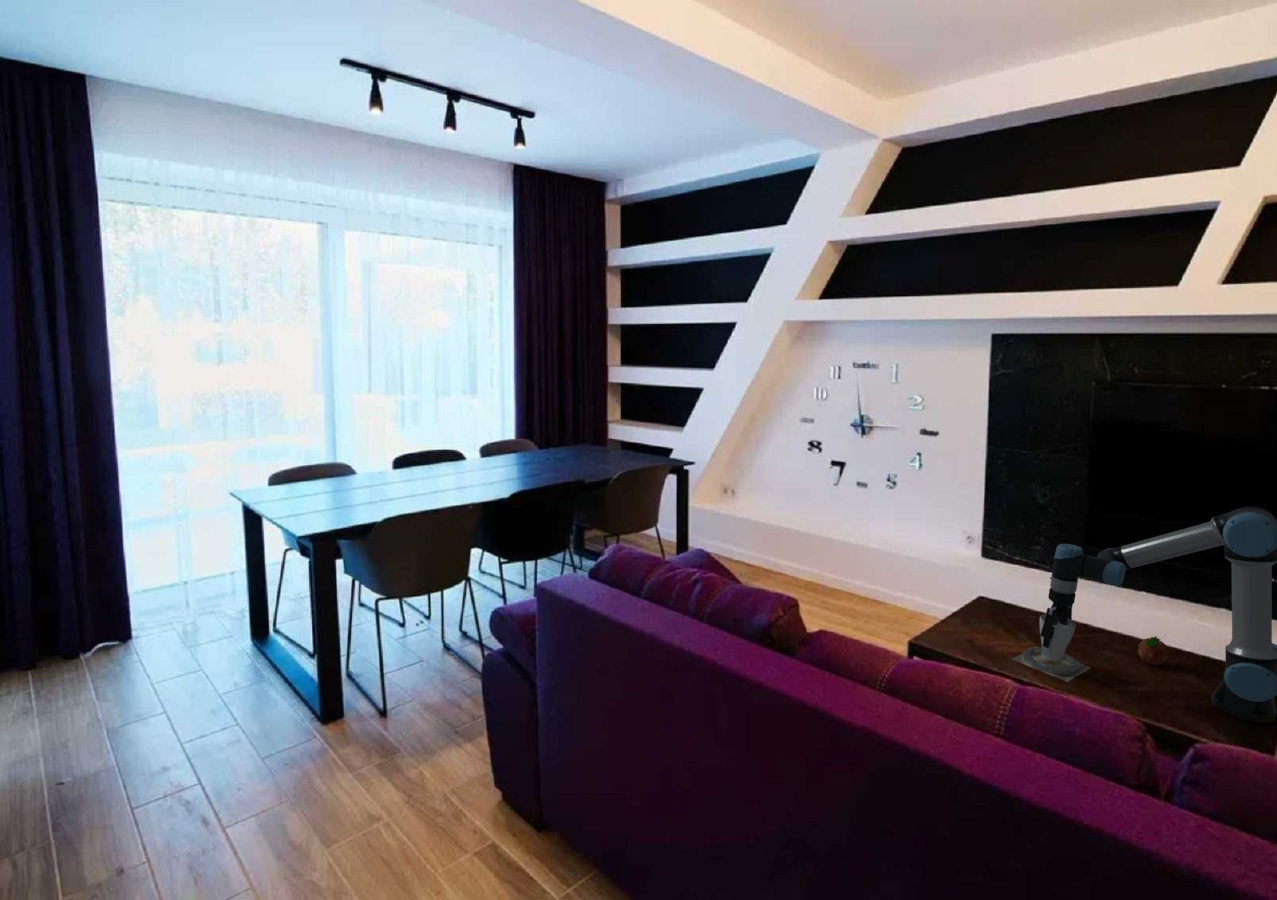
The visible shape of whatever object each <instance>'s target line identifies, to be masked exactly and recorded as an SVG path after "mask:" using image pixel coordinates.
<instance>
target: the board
mask: <svg viewBox="0 0 1277 900" xmlns="http://www.w3.org/2000/svg"><path fill="white" fill-rule="evenodd" d="M1030 657H1032V658H1033V659H1034V660H1036V661H1038V662H1040V663H1043V664H1045V665H1048V666H1052V667H1057V668H1072V667H1073V665H1071V664H1070V663H1068V662H1067V661H1065V660H1063V659H1062V661H1060V662H1053V661H1050V660H1047V659H1045V658H1043V657H1042V655H1041V654H1032V655H1030ZM1011 660H1012V661H1015V662H1018V664H1019V663H1020V664H1022V665H1025V666H1027V667H1030V668H1033V669H1034V670H1037V671H1039V672H1042V673H1045V674H1047V675H1049V676H1052V677H1054V678H1057V679H1059V680H1061V681H1064V682H1070V681H1071V680H1073V679H1075V678H1076V677H1078V676H1079V675H1082V674H1084V673H1085V672H1087V671H1089V670H1090V669H1091V668H1092V667H1091V666H1088V665H1085V664H1083V663H1080V662H1079V664H1080V666H1081V668H1080V672H1079V673H1077V674H1076V675H1057V674H1052V673H1047V672H1044V671H1042V670H1040V669H1037V668H1035V667H1032V666H1031V665H1030V664H1028V663H1027V662H1026V661H1024V658H1023V652H1022V653H1020V654H1018V655H1016V656H1015V657H1012V658H1011Z"/></svg>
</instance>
